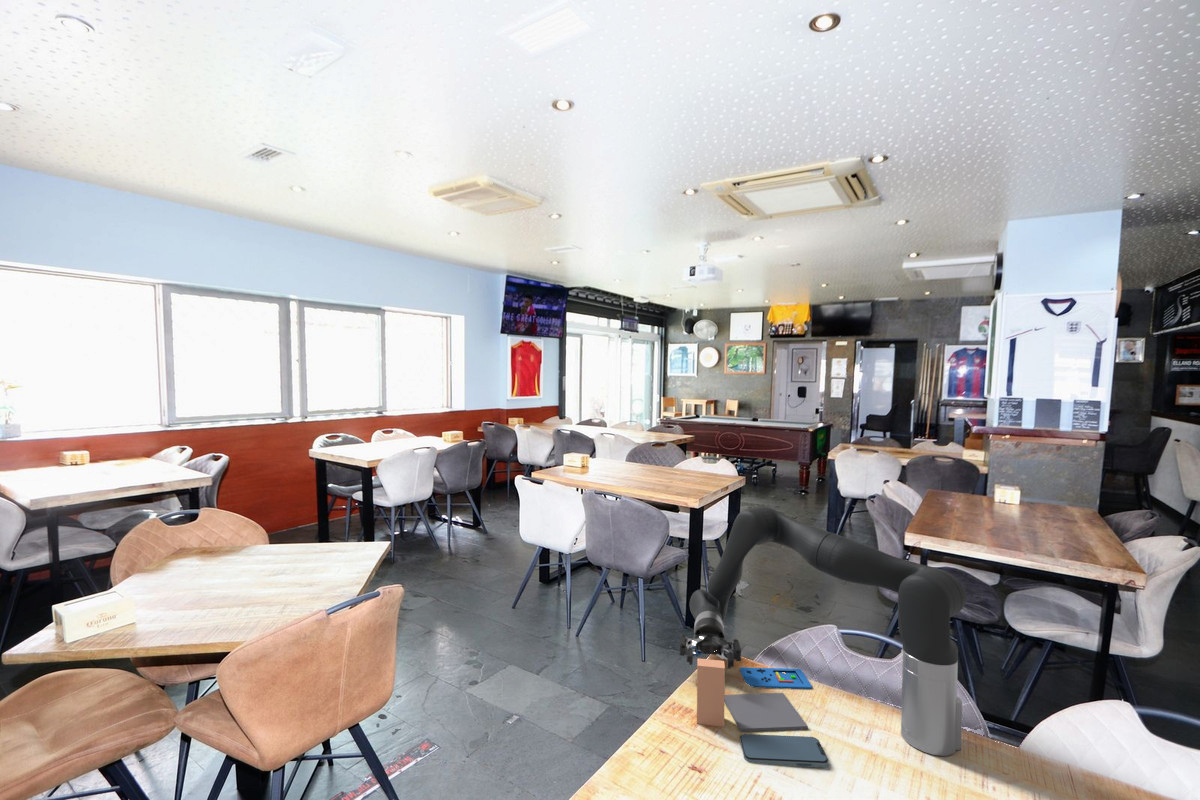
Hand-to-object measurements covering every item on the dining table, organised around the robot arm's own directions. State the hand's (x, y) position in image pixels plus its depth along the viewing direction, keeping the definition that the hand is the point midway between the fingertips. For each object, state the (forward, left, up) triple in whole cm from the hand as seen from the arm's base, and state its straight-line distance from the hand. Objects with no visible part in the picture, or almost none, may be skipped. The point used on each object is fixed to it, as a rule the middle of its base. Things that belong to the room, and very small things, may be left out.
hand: (710, 662), depth 120 cm
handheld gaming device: (-17, -5, -8) cm, 20 cm away
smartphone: (-8, +20, -8) cm, 23 cm away
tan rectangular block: (+3, +10, -7) cm, 12 cm away
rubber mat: (-9, +8, -7) cm, 14 cm away
